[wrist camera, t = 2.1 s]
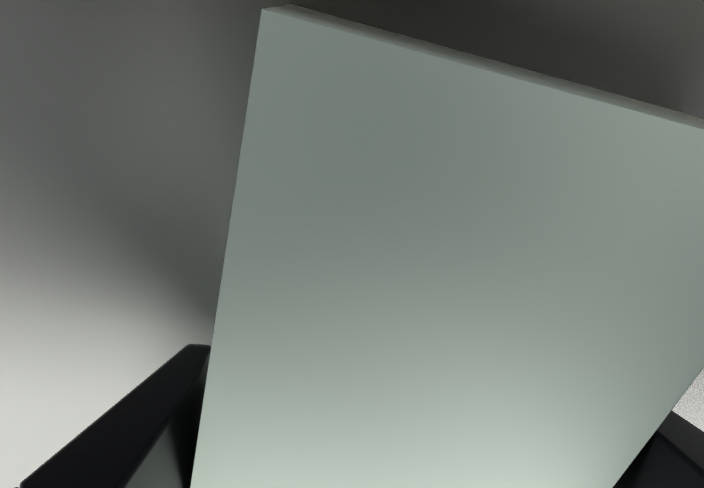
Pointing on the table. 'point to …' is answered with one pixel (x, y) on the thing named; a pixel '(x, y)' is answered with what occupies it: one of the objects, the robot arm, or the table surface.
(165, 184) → the table surface
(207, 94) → the table surface
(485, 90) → the pale green rectangular block
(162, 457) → the robot arm
